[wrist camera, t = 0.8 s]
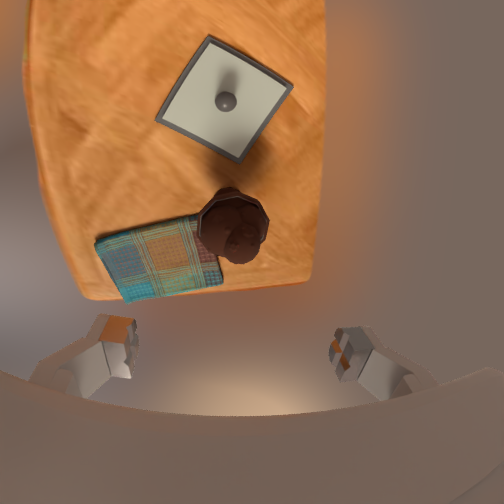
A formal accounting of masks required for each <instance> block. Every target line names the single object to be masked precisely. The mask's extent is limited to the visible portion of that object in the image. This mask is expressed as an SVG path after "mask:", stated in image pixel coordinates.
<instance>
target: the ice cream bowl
mask: <svg viewBox="0 0 504 504" xmlns="http://www.w3.org/2000/svg"><path fill="white" fill-rule="evenodd" d="M269 221H270V220H269V218H268V216H267V214H266V213H265V211H264V209H263V207H262V205H261V203H260V202H259V201H258V200H257V199H255V198H252V197H250V196H247V195H245V194H243V193H240V192H239V191H238V190H236V189H233V188H231V187H229V188H224V189H220V190H219V191H218V192H217V193H216V194H215V195H214V197H213V198H212V199H211V200H210V201H209V202H208V203H207V204H206V205H205V206H204V207H203V209H202V210H201V211H200V212H199V214H198V220H197V233H196V236H197V237H198V239H199V240H200V241H201V243H202V244H203V245H204V247H205V248H206V249H207V251H208V252H210V253H212V254H214V255H216V256H221V257H225V258H227V259H228V260H229V261H230V262H232V263H234V264H245V263H247V262H249V261H251V260H253V259H254V257H255V256H256V255H257V254H258V252H259V249H260V244H261V243H262V242H264V241H265V239H266V235H267V230H268V226H269Z"/></svg>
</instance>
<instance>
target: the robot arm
mask: <svg viewBox="0 0 504 504" xmlns="http://www.w3.org/2000/svg"><path fill="white" fill-rule="evenodd" d="M136 329H137V324H136V320H135V319H134V318H126V317H120V316H114V315H107V314H99V315H98V317H97V318H96V320H95V322H94V323H93V325H92V327H91V329H90V331H89V332H88V334H87V336H86V338H81V339H79V340H77V341H75V342H73V343H72V344H70V345H68V346H66V347H64V348H63V349H61V350H59V351H57V352H56V353H54V354H52V355H50V356H48V357H46V358H45V359H43V360H41V361H39V363H38V364H37V366H36V368H35V370H34V371H33V373H32V375H31V377H30V379H29V381H26V380H23V379H21V378H18V377H16V376H13V375H11V374H8V373H6V372H3V371H1V370H0V504H504V373H502V372H500V371H498V370H496V369H494V368H491V367H486V368H483V369H481V370H478V371H476V372H474V373H471V374H469V375H466V376H464V377H461V378H458V379H456V380H453V381H450V382H447V383H444V384H441V385H439V384H438V383H437V381H436V380H435V378H434V377H433V376H432V374H431V373H430V372H429V370H428V369H426V368H424V367H422V366H421V365H419V364H417V363H415V362H413V361H411V360H410V359H408V358H406V357H404V356H402V355H401V354H398V353H397V352H395V351H393V350H392V349H390V348H385V347H384V345H383V344H382V342H381V341H380V339H379V338H378V337H377V335H376V334H375V332H374V331H373V330H372V328H371V327H369V326H358V327H342V328H337V329H336V331H335V334H334V336H335V340H334V341H333V342H332V343H331V345H330V348H329V359H330V362H331V364H332V365H334V366H335V367H336V369H335V373H336V375H337V377H338V379H339V381H340V382H346V381H356V380H357V382H358V383H360V384H361V385H362V386H363V387H364V388H366V389H367V390H368V391H369V392H371V393H372V394H373V395H374V396H375V397H377V398H378V399H379V400H380V401H379V402H374V403H369V404H365V405H359V406H354V407H348V408H341V409H335V410H328V411H321V412H311V413H301V414H289V415H273V416H238V417H236V416H202V415H187V414H175V413H164V412H157V411H148V410H142V409H135V408H129V407H123V406H118V405H113V404H107V403H102V402H98V401H94V400H89V399H87V398H88V397H89V396H90V395H91V394H92V393H93V392H95V391H96V390H97V389H98V388H99V387H100V386H101V385H102V384H104V383H105V382H106V381H107V380H108V379H109V378H110V377H111V376H116V377H123V378H132V374H133V370H134V367H135V366H134V360H135V359H137V356H138V351H139V338H138V335H137V334H136V333H135V332H136Z"/></svg>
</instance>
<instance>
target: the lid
mask: <svg viewBox="0 0 504 504" xmlns="http://www.w3.org/2000/svg"><path fill="white" fill-rule="evenodd" d="M286 89H287V88H286V87H284V86H283V85H281V84H280V83H278V82H277V81H275V80H274V79H272V78H271V77H269V76H267V75H266V74H264V73H263V72H261V71H259V70H258V69H256V68H254V67H253V66H251V65H249V64H248V63H246V62H244V61H243V60H241V59H239V58H237V57H236V56H234V55H232V54H230V53H228V52H227V51H225V50H223V49H221V48H219V47H217V46H215V45H213V44H211V43H210V44H209V45H208V47H207V48H206V49H205V51H204V52H203V54H202V55H201V56H200V58H199V59H198V61H197V62H196V64H195V65H194V67H193V68H192V70H191V71H190V73H189V74H188V76H187V77H186V79H185V81H184V82H183V84H182V85H181V87H180V89H179V90H178V92H177V94H176V95H175V97H174V99H173V100H172V102H171V104H170V105H169V107H168V109H167V111H166V112H165V114H164V116H163V118H162V119H164V120H167V121H169V122H171V123H173V124H175V125H177V126H179V127H181V128H183V129H185V130H187V131H189V132H191V133H193V134H195V135H197V136H199V137H200V138H202V139H204V140H206V141H208V142H210V143H212V144H214V145H216V146H217V147H219V148H221V149H223V150H225V151H227V152H228V153H230V154H232V155H234V156H236V157H237V158H239V157H240V155H241V154H242V152H243V151H244V149H245V148H246V146H247V145H248V143H249V142H250V140H251V139H252V137H253V136H254V134H255V133H256V131H257V130H258V128H259V127H260V125H261V124H262V123H263V121H264V120H265V118H266V117H267V115H268V114H269V113H270V111H271V110H272V108H273V107H274V106H275V104H276V103H277V101H278V100H279V99H280V97H281V96H282V94H283V93H284V92H285V90H286Z"/></svg>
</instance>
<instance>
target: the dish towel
mask: <svg viewBox="0 0 504 504" xmlns="http://www.w3.org/2000/svg"><path fill="white" fill-rule="evenodd" d="M197 220H198V215H193V216H188V217H183V218H179V219H175V220H172V221H168V222H163V223H159V224H155V225H151V226H146V227H142V228H137V229H133V230H129V231H124V232H121V233H118V234H115V235H111V236H108V237H106V238H103V239H99V240H97V242H95V243H94V247H95V250H96V252H97V254H98V256H99V257H100V259H101V261H102V262H103V264H104V266H105V268H106V270H107V271H108V273H109V275H110V277H111V279H112V280H113V282H114V283H115V285H116V287H117V289H118V290H119V292H120V293H121V295H122V297H123V299H124V301H125V303H126V304H127V305H128V304H130V303H132V302H134V301H139V300H146V299H151V298H158V297H164V296H169V295H174V294H178V293H183V292H188V291H193V290H198V289H203V288H207V287H212V286H218V285H221V284H223V276H222V273H221V269H220V266H219V263H218V259H217V256H216V255H214V254H212V253H210V252H208V251H207V249H206V248H205V247H204V245H203V244H202V243H201V241H200V240H199V239H198V237H197V236H196V233H197Z"/></svg>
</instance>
